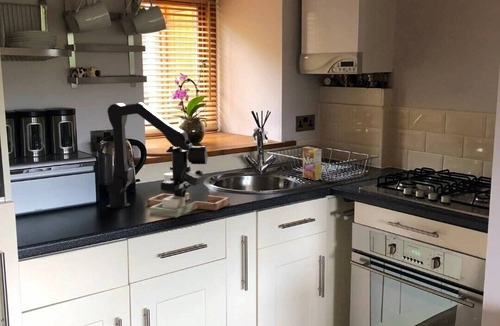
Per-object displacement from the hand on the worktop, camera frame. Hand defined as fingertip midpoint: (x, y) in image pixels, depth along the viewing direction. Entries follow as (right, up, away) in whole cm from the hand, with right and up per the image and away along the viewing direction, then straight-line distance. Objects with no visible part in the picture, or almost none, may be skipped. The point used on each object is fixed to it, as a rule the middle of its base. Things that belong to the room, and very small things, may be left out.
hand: (180, 204), depth 216 cm
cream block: (-2, -2, -4) cm, 5 cm away
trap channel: (0, -1, +1) cm, 2 cm away
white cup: (-8, +4, +32) cm, 33 cm away
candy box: (+55, +8, +50) cm, 75 cm away
